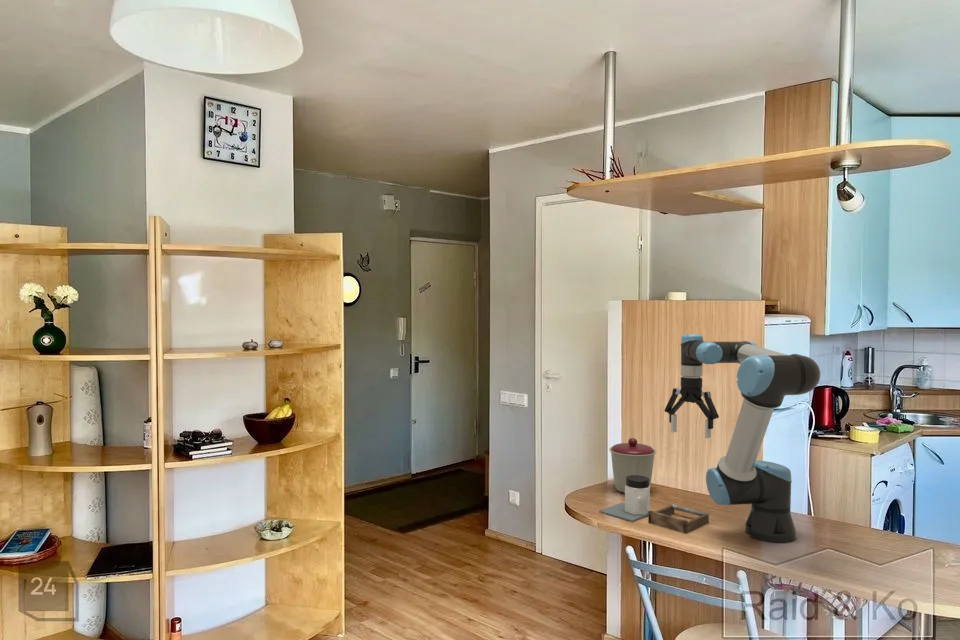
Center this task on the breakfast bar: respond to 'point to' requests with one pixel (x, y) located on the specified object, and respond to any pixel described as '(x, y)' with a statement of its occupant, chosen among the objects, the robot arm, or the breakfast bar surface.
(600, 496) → the breakfast bar surface
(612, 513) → the mat
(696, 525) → the jar holder
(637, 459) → the canister
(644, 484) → the jar
